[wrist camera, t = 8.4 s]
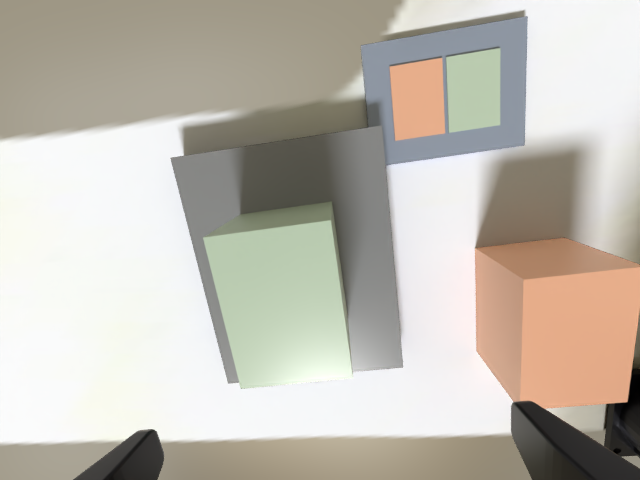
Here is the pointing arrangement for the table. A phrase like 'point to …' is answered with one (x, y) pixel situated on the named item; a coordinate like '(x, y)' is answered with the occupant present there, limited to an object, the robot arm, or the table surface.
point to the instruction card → (448, 91)
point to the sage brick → (282, 295)
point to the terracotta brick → (557, 321)
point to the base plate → (297, 190)
